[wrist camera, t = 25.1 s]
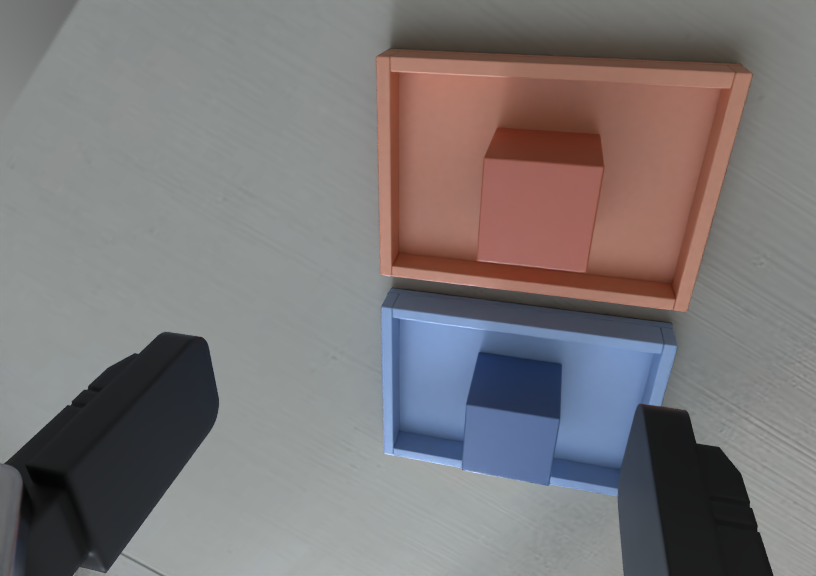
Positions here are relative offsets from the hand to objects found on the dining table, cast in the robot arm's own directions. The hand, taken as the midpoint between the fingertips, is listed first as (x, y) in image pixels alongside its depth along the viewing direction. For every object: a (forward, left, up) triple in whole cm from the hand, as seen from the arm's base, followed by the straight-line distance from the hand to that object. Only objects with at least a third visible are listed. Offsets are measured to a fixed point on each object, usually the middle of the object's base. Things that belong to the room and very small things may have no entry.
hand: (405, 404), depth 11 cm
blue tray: (+2, -14, -19) cm, 23 cm away
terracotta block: (+2, -2, -18) cm, 18 cm away
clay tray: (+2, -2, -19) cm, 19 cm away
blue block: (+2, -14, -18) cm, 23 cm away
